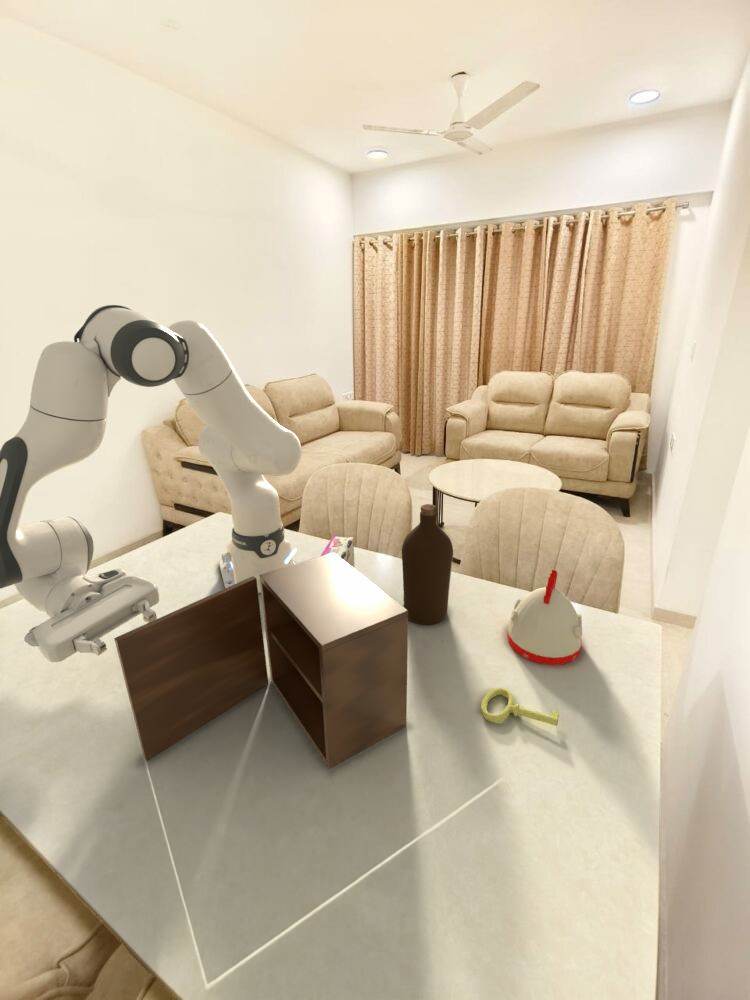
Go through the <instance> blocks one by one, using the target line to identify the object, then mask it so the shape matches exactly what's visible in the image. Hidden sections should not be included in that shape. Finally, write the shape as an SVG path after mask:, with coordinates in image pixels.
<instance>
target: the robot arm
mask: <svg viewBox="0 0 750 1000" xmlns="http://www.w3.org/2000/svg"><path fill="white" fill-rule="evenodd" d="M122 378H123V379H124V380H126V381H127V382H129V383H131V384H133V385H135V386H139V387H145V388H154V387H158V386H163V385H165V384H167V383H169V382H171V381H172V380H173V381H174V382H175V384H176V386H177V387H178V389H179V391H180V392H181V393H182V395H183V396H184V398H185V399H186V401H187V403H188V404H189V405H190V407H191V408H192V410H193V411H194V413H195V414H196V416H197V417H198V419H199V420H200V421H201V422H202V423H203V424H204V425H205V426H203V428H202V429H201V431H200V433H199V436H198V441H197V442H198V450H199V453H200V455H201V457H202V458H203V459H204V460H205V461H206V462H207V463H208V464H209V465H210V466H211V467H212V468H213V470H214V471H215V473H216V474H217V476H218V478H219V480H220V482H221V484H222V486H223V488H224V490H225V493H226V495H227V498H228V502H229V507H230V512H231V513H230V514H231V518H232V526H233V527H232V529H231V540H230V542H228V543H227V544H226V546H225V547H226V552H225V553H221V559H220V560H219V561H218V562H219V563H218V565H219V566H218V567H219V569H220V573H221V574H220V575H221V578H222V581H223V585H224V589H225V588H228V587H230V586H232V585H234V584H236V583H239V582H241V581H243V580H245V579H248V578H250V577H252V576H254V577H255V578H256V579H257V588H258V594H261V586H260V577H259V575H261V574H264V573H267V572H270V571H274V570H277V569H280V568H284V567H287V566H290V565H294V564H297V563H296V562H295V561H294V560H293V556H295V554H296V553H297V548H296V547H295V548H294V549H293V550H292V548H291V547H292V546H291V543H290V541H289V540H287V538H285V527H284V523H283V522H282V517H281V505H280V496H279V494H278V492H277V490H276V489H275V487H274V486H273V485H272V484H270V483H269V482H268V480H267V479H266V478H265V477H279V476H288V475H290V474H292V473H294V471H296V469H297V467H298V466H299V464H300V462H301V459H302V444H301V441H300V439H299V437H298V436H297V435H296V434H295V433H294V432H292V431H291V430H289V429H287V428H285V427H284V426H282V425H281V424H280V423H279V422H277V421H276V420H275V419H274V418H273V417H271V416H270V414H268V413H267V412H266V411H265V410H264V409H263V408H262V407H261V406H260V405H259V404H258V402H256V401H255V399H254V398H253V397H252V396H251V394H250V393H249V391H248V390H247V388H246V387H245V385H244V383H243V382H242V380H241V378H240V376H239V375H238V373H237V371H236V370H235V368H234V366H233V364H232V362H231V360H230V359H229V357H228V355H227V354H226V352H225V351H224V349H223V348H222V346H221V345H220V343H219V342H218V340H217V339H216V337H214V336H213V334H212V333H211V332H210V331H209V330H208V328H207V327H206V326H205V325H204V324H202V323H201V322H199V321H197V320H193V319H183V320H178V321H176V322H173V323H172V324H170V325H169V326H164V325H162V324H160V323H158V322H157V321H155V320H154V319H152V318H150V317H149V316H147V315H145V313H142V312H139V311H135V310H133V309H131V308H129V307H127V306H124V305H118V304H110V305H109V304H108V305H103V306H100V307H98V308H96V309H95V310H93V311H92V312H91V313H90V314H89V315H88V316H87V318H86V320H85V321H84V323H83V324H82V326H81V327H80V328H79V330H78V331H77V332H76V333H75V334H74V337H73V341H70V340H69V341H65V340H63V341H57V342H52V343H50V344H49V345H46V346H45V347H44V348H43V350H42V351H41V353H40V355H39V359H38V362H37V365H36V369H35V370H34V376H33V380H32V385H31V392H30V400H29V407H28V408H29V409H28V413H27V416H26V418H25V421H24V422H23V424H22V426H21V428H20V429H19V431H18V432H17V433H16V434H15V435H14V436H13V437H11V438H9V439H8V440H6V441H5V442H4V443H3V445H2V446H1V448H0V590H2V589H4V588H7V587H10V586H14V587H15V589H16V590H17V592H18V593H19V595H20V596H21V597H22V598H23V599H24V600H25V601H26V602H27V603H28V604H30V605H31V606H33V607H34V608H35V609H37V610H38V611H40V612H43V613H45V614H46V615H47V616H48V617H49V619H47V620H45V621H43V622H41V623H39V624H38V625H35V626H34V627H32V628H30V629H29V630H28V633H26V634H25V635H24V642H25V643H26V644H27V645H29V646H30V647H37V648H38V650H39V651H40V654H42V655H43V656H44V658H45V659H46V660H48V662H50V663H60V662H63V661H64V660H66V659H68V658H70V657H71V656H72V655H74V654H76V653H77V652H79V654H80V653H81V654H83V653H87V654H88V653H89V654H91V653H93V654H94V655H96V656H98V657H99V656H100V655H102V654H103V653H106V651H108V648H107V644H106V642H104V641H103V640H102V638H103V637H104V636H106V635H108V634H109V633H111V632H113V631H114V630H115V629H118V628H119V627H121V626H122V625H124V624H126V623H127V622H129V621H131V620H133V619H134V618H136V617H137V616H139V615H141V614H142V620H143V622H146V623H149V622H152V621H154V620H156V619H158V615H157V613H156V611H155V610H153V609H151V608H152V607H154V606H156V605H157V604H158V603H160V591H159V588H158V586H157V585H156V584H155V583H154V582H152V581H150V580H148V579H146V578H144V577H142V576H139V575H136V574H127V573H126V571H125V569H123V568H114V569H112V570H108V571H105V572H101V573H96V574H91V575H90V574H89V575H86V574H87V573H88V572H89V569H90V566H91V563H92V560H93V557H94V549H95V547H94V539H93V536H92V535H91V533H90V531H89V530H88V529H87V528H86V526H84V525H83V524H82V523H81V522H80V521H79V520H77V519H76V518H73V517H71V516H66V517H58V518H57V517H56V518H51V519H46V520H40V521H37V522H30V523H24V524H20V520H21V518H22V515H23V510H24V507H25V504H26V500H27V496H28V494H29V492H30V491H31V489H32V488H33V486H35V484H37V483H38V482H39V481H41V480H42V479H44V478H45V477H47V476H49V475H52V474H53V473H55V472H58V471H59V470H62V469H64V468H67V467H69V466H72V465H75V464H78V463H80V462H82V461H84V460H85V459H87V458H89V457H90V456H91V455H93V454H94V453H95V452H96V451H98V449H99V447H100V446H101V444H102V442H103V439H104V436H105V433H106V426H107V420H108V419H107V417H108V410H109V398H110V397H111V393H112V391H113V390H114V387H115V386H116V385H117V383H118V382H119V381H121V380H122Z"/></svg>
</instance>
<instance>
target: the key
mask: <svg viewBox="0 0 750 1000" xmlns="http://www.w3.org/2000/svg"><path fill="white" fill-rule="evenodd" d="M497 696H503V697H505V698H506V699H507V700H508V702H507V705H506V707H505V708H504V709H503V710H502V711H501V712H499V713H491V712H489V711H488V705H489V702H490V700H491V699H493V698H494V697H497ZM480 711H481V714H482V716H483V718H484V719H485V720H486V721H488V722H490V723H496V724H497V723H502V722H503V721H505V720H507V719H508V717H509V716H510V714H511V713H512V714H513V716H514V717H518V716H522V717H524V718H525V717H526V718H528V719H531V720H535V721H539V722H542V723H546V724H549V725H553V726H555V727H557V726H558V725H559V716H560V711H557V712H556V710H553V709H552V710H551V712H550V715H549V714H546V713H542V712H539V711H535V710H532V709H528V708H525V707H522V706H520V704H519V703H516V704H514V697H513V694H512V692H511V691H510V690H509V689H507V688H504V687H495V688H493V689H490V690H489V691H488V692H487V693H486V694H485V695H484V697H483V698H482V701H481V703H480Z"/></svg>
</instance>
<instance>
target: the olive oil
mask: <svg viewBox="0 0 750 1000" xmlns="http://www.w3.org/2000/svg"><path fill="white" fill-rule="evenodd" d="M437 519H438V512H437V506H436V505H435V504H429V503H427V504H426V503H425V504H422V505H421V506H420V512H419V523H418V525H416V526H415V527H414V528H413V529H412V530H410V531H409V532H408V533H407V534H406V536H405V537H404V539H403V542H402V545H401V567H402V586H403V607H404V608H405V609H407V610H408V621H411V622H412V623H415V624H418V625H425V626H426V625H435V624H438V623H440V622H442V621H444V620H445V619H446V617H447V616H448V608H449V607H448V605H449V598H450V597H449V596H450V586H451V576H452V568H453V567H452V566H453V558H454V547H453V543H452V540H451V538H450V536H449V535H448V534H447V533H446V531H444V530H443V529H442V528H441V527H440V526H439V525H438V524H437V521H438V520H437Z"/></svg>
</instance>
